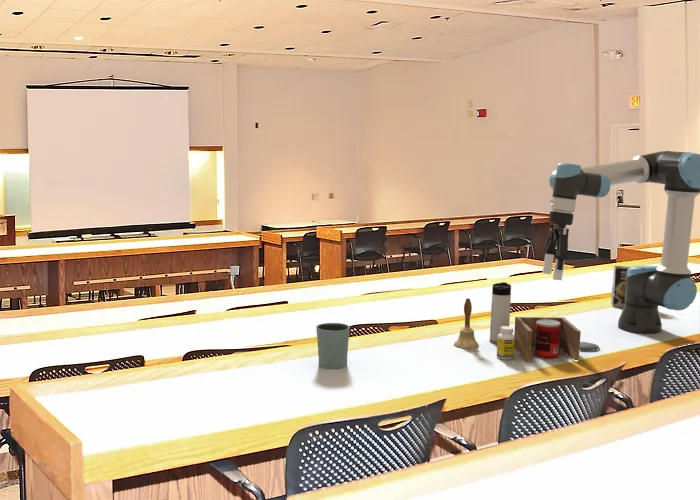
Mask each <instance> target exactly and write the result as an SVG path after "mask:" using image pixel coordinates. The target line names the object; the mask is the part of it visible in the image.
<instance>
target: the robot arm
mask: <svg viewBox="0 0 700 500" xmlns="http://www.w3.org/2000/svg"><path fill="white" fill-rule="evenodd" d="M632 182H635V183H637V184H643V183H652V184H653V183H654V184H661V185H664V190H663V191H664V193H665V194H667V206H666V214H665V224H664V231H663V243H662V253H661V258H660V259H661V260H660V264H659V265H658V266H657V265H637V266H636V265H633V266H629V267H630V268H629V269H628V270H627V276H626V289H625V305H624V308H623V307H622V311H621V314H620V316H619V317H618V322H617V327H618V328H619V329H621V330H624V331H627V332H631V333H638V334H639V333H640V334H655V333H657V334H658V333H660V332H662V328H663V324H662V320H661V315H660V311H659V307H662V308H665V309H668V310H670V311H671V310H672V311H683V310H686V309H687V308H689V307H690V305H692V304H693V303H694V301H695V299H696V296H697V291H698V288H697V287H698V286H697V284H696V282H695V281H694V280H693V279H692V278H691V277H692V270H690V269H689V267H688V263H689V262H688V261H689V253H690V245H691V244H690V243H691V237H692V236H691V235H692V227H693V218H694V211H695V210H694V209H695V199H696V197H697V196H699V195H700V154H699V153H696V152H695V153H694V152H691V151H690V152H689V151H688V152H687V151H670V150H663V151H656V152H651V153H646V154H642V155H637V156H634V157H633V158H632V159H630V160H624V161H616V162H611V163H610V162H609V163H603V164H597V165H593V166H592V165H591V166H585V167H582V166H581V165H580V164H575V163H574V164H573V163H567V162H560V163H558V164H557V166H556V170H554V171H552V173H551V174H550V177H549V186H550V188H551V189H552V197H551V199H550V200H549V203H550V209H551V210H550V211H549V214H548V215H549V216H548V222H549V223H551V224H550V225H549V231H548V235H547V239H546V242H545V246H544V248H543V251H544V252H545V254H544V261H543V268H542V274H545V275H552V280H556V281H562V280H563V275H564V274H563V273H564V267H565V263H566V262H565V261H566V260H567V259H568V255H569V254H568V253H569V252H568V251H569V250H568V249H569V232H570V230H569V228H567V226H572V225H573V222H574V212H575V209H576V202H577V197H578V196H585V197H592V198H605V197H606V196H607V195H608V193H610V190H611V186H615V185H620V184H625V183H632ZM555 250H556V251H555ZM554 259H555V262H554ZM553 264H554V267H553ZM552 271H553V272H552ZM552 273H553V274H552Z"/></svg>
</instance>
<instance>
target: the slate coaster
mask: <svg viewBox="0 0 700 500" xmlns="http://www.w3.org/2000/svg"><path fill="white" fill-rule="evenodd" d="M597 349H600V347H599V345H598V344H595V343H592V342H587V341H586V342H585V341H580V351H579V352H585V351H592V352H594V351H593V350H597ZM597 351H598V350H597Z"/></svg>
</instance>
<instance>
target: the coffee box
mask: <svg viewBox="0 0 700 500" xmlns="http://www.w3.org/2000/svg"><path fill="white" fill-rule="evenodd" d="M630 267H631V266H626V265H625V266H624V265H614V266H613V275H612V286H611V287H612V288H611V297H610V298H611V300H610V305H611V306H612V307H613V308H622V309H623V308H624V305H625V289H626V276H627V270H628V269H629V268H630Z"/></svg>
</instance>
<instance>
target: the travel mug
mask: <svg viewBox="0 0 700 500" xmlns="http://www.w3.org/2000/svg"><path fill="white" fill-rule="evenodd" d="M491 292H492V293H491V304H490V305H491V307H490V326H489V327H490V328H489V342H490V343H492V344H496V345H497V341H498V334H500V333H501V332H500V329H501V327H502V326H509V327H510V321H511V320H510V319H511V318H510V315H511V303H512V302H511V296H512V285H511V284H509V283H508V282H504V281H502V282H498V283H493V284H492V290H491Z"/></svg>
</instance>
